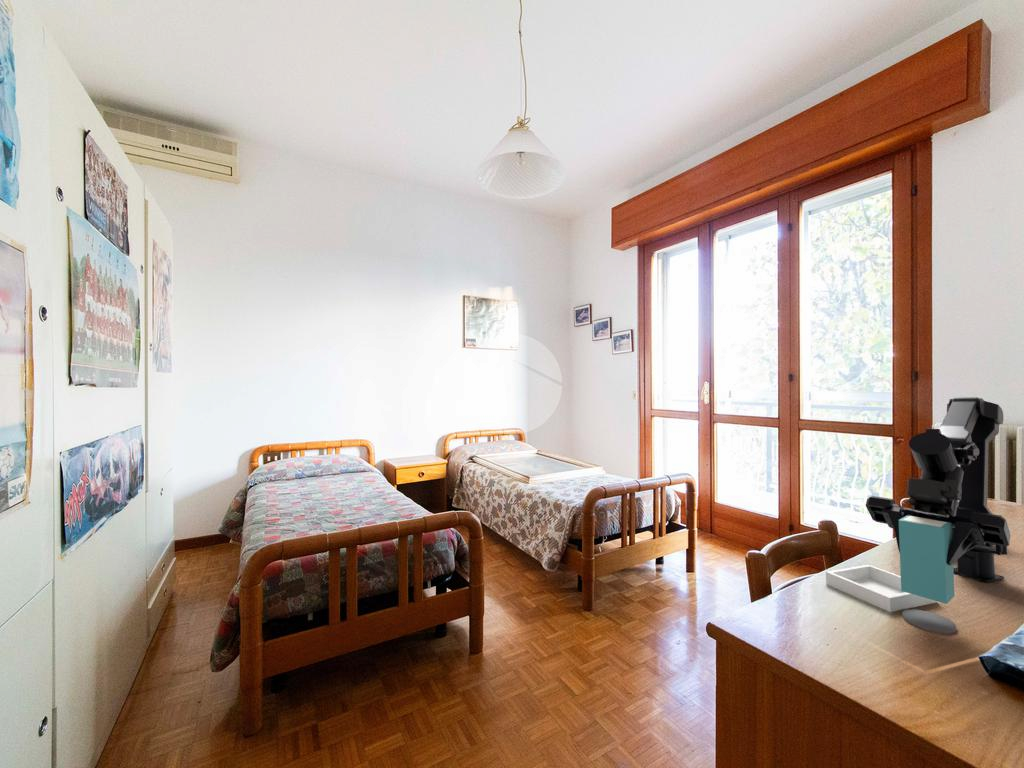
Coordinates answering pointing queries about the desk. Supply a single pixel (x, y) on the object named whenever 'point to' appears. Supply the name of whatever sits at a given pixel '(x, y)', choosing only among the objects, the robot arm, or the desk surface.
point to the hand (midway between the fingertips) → (923, 558)
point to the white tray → (874, 587)
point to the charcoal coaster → (929, 621)
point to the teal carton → (926, 558)
